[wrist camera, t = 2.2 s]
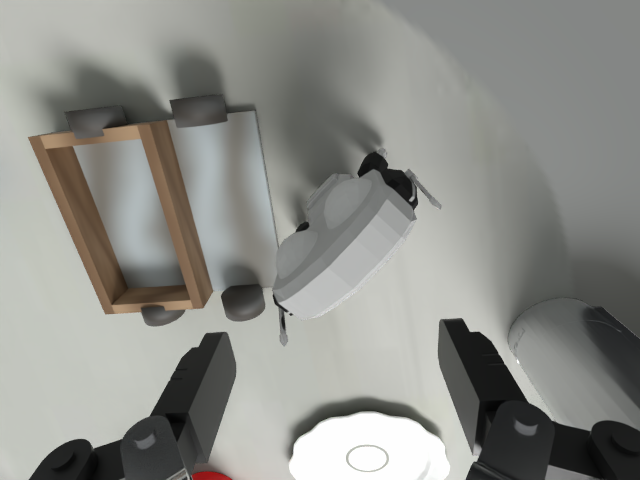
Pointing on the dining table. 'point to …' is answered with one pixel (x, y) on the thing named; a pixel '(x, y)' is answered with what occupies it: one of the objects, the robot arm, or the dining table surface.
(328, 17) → the dining table surface
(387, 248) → the robot toy
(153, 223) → the chassis
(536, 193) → the dining table surface
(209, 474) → the mug
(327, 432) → the plate
